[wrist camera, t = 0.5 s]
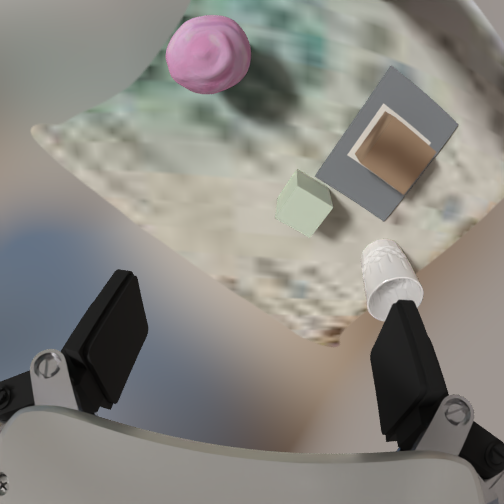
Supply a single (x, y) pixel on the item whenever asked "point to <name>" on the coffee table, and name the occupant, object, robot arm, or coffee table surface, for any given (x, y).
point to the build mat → (382, 99)
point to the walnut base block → (394, 153)
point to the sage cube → (303, 203)
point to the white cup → (388, 277)
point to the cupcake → (208, 54)
